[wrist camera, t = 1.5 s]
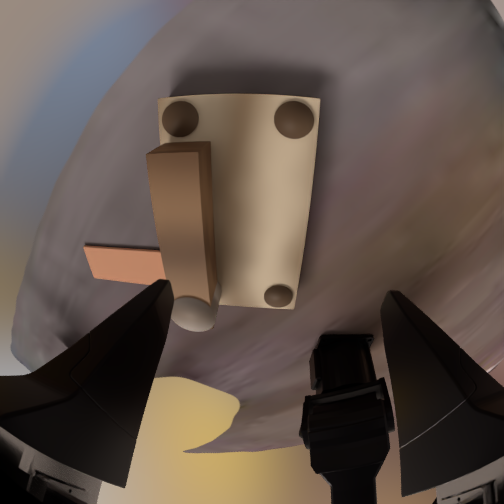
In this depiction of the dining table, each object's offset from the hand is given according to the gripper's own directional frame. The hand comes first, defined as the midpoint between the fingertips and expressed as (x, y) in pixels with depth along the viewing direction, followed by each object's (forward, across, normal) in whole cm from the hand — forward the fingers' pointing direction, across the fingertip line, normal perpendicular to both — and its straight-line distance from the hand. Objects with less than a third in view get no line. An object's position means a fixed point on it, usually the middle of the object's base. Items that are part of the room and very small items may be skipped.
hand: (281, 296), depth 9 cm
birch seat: (+12, +3, +2) cm, 13 cm away
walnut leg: (+10, +6, +4) cm, 12 cm away
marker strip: (+12, +14, +9) cm, 20 cm away
